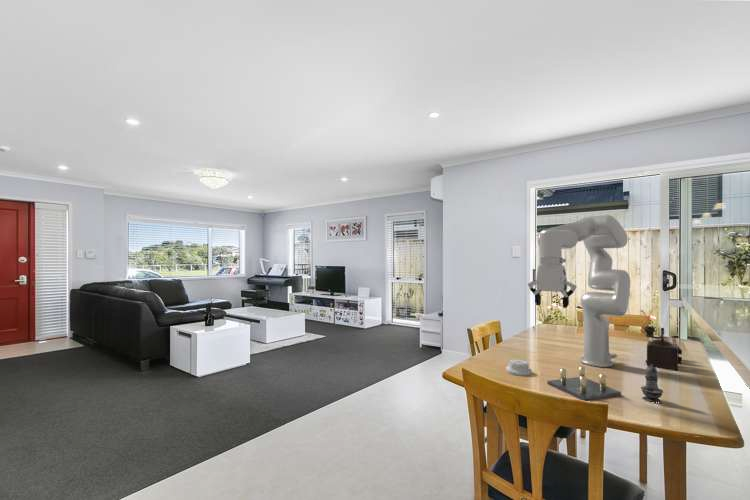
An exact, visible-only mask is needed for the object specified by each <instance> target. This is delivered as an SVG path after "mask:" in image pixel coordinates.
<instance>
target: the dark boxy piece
mask: <svg viewBox="0 0 750 500" xmlns="http://www.w3.org/2000/svg"><path fill="white" fill-rule="evenodd" d="M643 331H644V333H645V336H646V338H650V339H652V340H649V341H647V344H646V360H645V364H646V367H649V366H651V364H652V365H653V367H655V368H656V367H657V368H656V369H661V368H662V369H663V370H666V371H667V370H668V371H674V370H675V371H676V372H678V370H679V364H678V356H679V354H678V347H679V345H678V343H672V342H670V341H668V340H666V339H664V336H665V328H664V327H661V328H660V330H659V333H660V335H659V336H654V333H655V332H656V328H655V327H654V326H651V325H646V326H644V327H643Z"/></svg>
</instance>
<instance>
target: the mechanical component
mask: <svg viewBox="0 0 750 500" xmlns="http://www.w3.org/2000/svg"><path fill="white" fill-rule="evenodd" d="M505 371H506V372H507V373H508V374H511V375H515V376H523V377H524V376H525V377H526V376H531V375H532V374H533V370H532V369H531V368H530V367H529V362H528V361H525V360H524V359H523V360H522V359H516V358H515V359H510V360H509V361H508V365H507V366H505Z"/></svg>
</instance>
